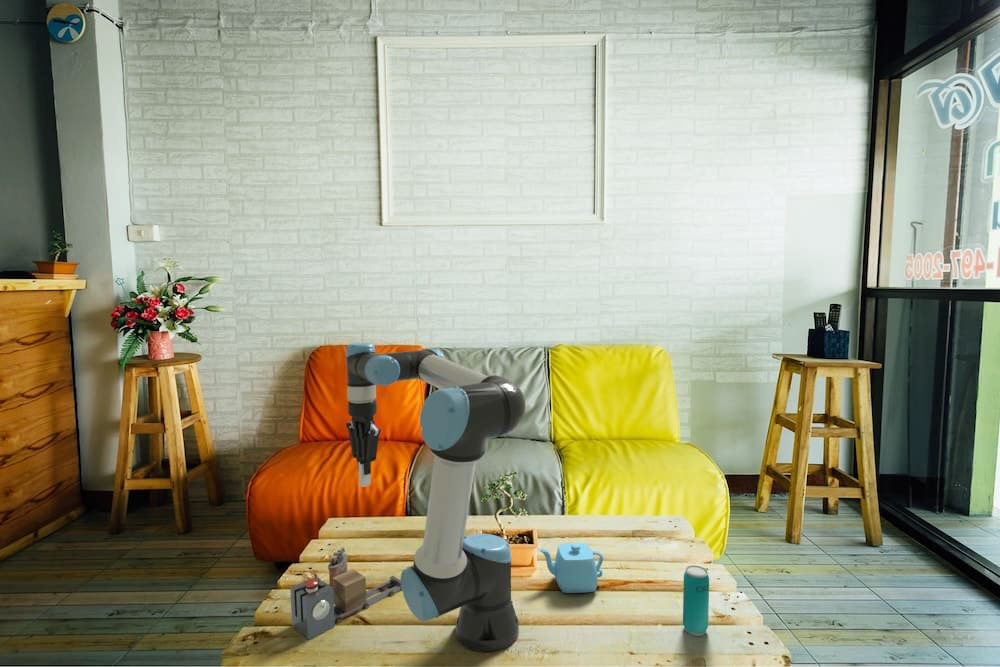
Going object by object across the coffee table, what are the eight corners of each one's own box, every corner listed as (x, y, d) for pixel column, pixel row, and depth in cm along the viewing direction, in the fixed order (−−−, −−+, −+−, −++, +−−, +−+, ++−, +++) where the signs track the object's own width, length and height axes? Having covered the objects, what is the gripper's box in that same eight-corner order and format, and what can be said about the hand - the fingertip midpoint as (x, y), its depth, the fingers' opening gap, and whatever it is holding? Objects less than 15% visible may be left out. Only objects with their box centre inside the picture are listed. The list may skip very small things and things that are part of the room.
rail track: (404, 589, 156) (404, 582, 156) (306, 638, 135) (305, 630, 135) (392, 581, 160) (391, 575, 160) (294, 627, 139) (293, 620, 139)
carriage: (366, 603, 147) (365, 577, 146) (346, 612, 143) (345, 586, 142) (353, 594, 151) (353, 569, 150) (333, 603, 147) (332, 577, 146)
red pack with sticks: (337, 594, 154) (336, 559, 153) (326, 593, 154) (324, 558, 153) (351, 579, 162) (350, 545, 161) (340, 578, 162) (339, 544, 161)
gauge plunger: (321, 608, 139) (320, 582, 139) (309, 614, 137) (308, 587, 136) (315, 603, 141) (314, 577, 141) (303, 608, 139) (302, 582, 138)
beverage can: (713, 635, 134) (714, 574, 133) (692, 639, 133) (693, 578, 131) (698, 621, 140) (699, 563, 139) (677, 625, 138) (679, 566, 137)
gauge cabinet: (335, 627, 139) (334, 588, 138) (308, 640, 134) (307, 600, 133) (318, 614, 145) (316, 576, 144) (292, 626, 140) (290, 587, 139)
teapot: (535, 574, 163) (535, 536, 162) (597, 572, 164) (597, 534, 163) (541, 598, 151) (541, 557, 150) (608, 596, 152) (608, 555, 151)
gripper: (388, 401, 152) (390, 486, 154) (360, 395, 160) (362, 476, 163) (364, 405, 146) (367, 494, 148) (336, 399, 155) (339, 483, 157)
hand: (365, 484), depth 155 cm, fingers closed
